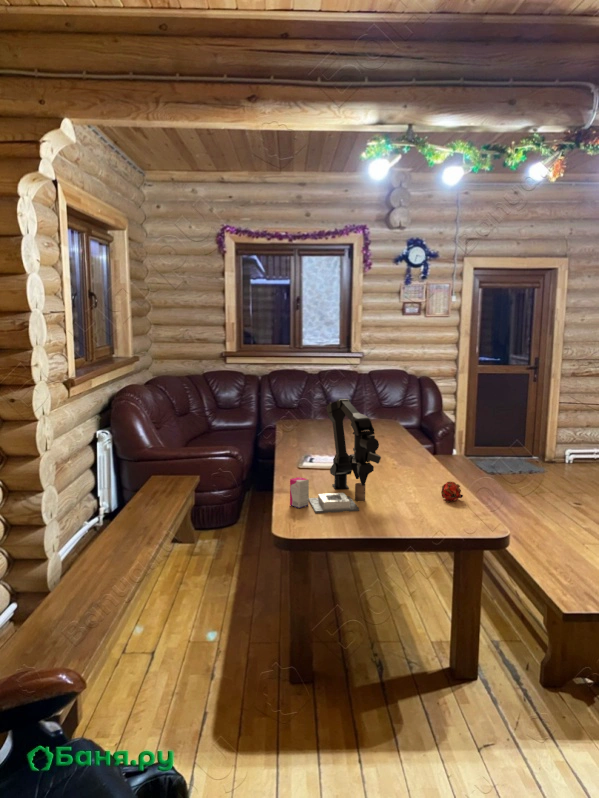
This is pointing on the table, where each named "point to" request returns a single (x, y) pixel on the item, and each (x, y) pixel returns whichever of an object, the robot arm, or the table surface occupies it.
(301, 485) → the supplement box
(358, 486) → the walnut dowel
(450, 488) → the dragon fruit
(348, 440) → the table surface
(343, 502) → the jig
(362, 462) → the robot arm
